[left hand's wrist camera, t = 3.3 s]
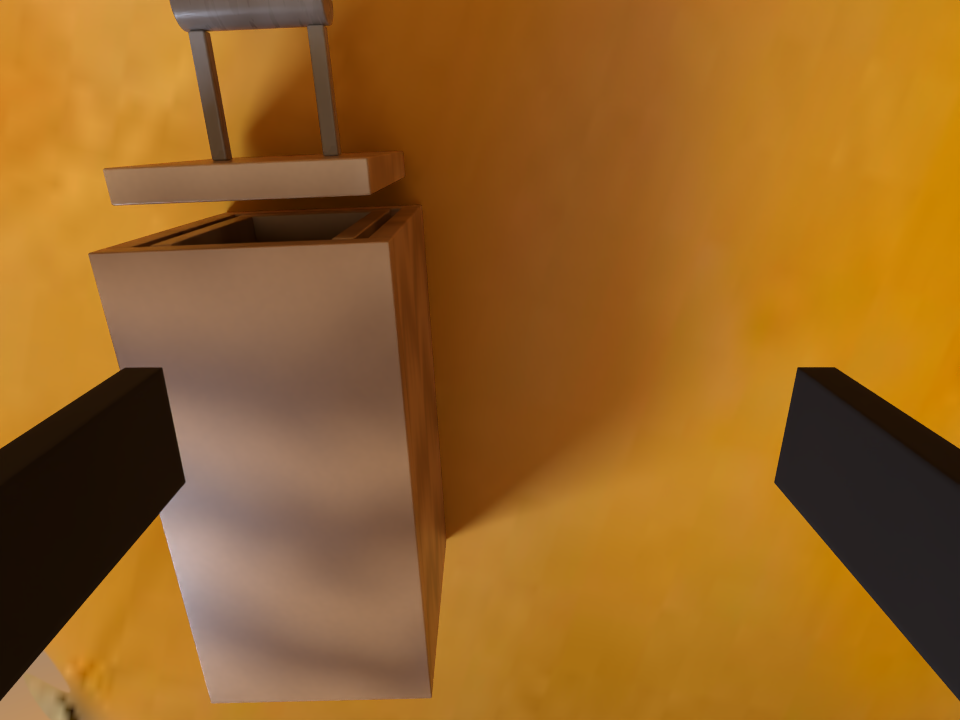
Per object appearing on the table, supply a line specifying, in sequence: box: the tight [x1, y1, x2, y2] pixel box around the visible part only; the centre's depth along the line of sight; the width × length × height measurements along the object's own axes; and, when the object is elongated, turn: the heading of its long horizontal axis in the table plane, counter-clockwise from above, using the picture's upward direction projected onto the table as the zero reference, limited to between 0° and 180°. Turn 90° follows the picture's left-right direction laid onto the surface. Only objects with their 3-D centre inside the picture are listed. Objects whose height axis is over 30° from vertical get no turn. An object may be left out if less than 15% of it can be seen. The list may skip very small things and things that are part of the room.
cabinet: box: [89, 205, 446, 703], centre depth 28 cm, size 20×10×11 cm, turn 2°
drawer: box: [103, 0, 405, 247], centre depth 26 cm, size 26×9×9 cm, turn 2°
